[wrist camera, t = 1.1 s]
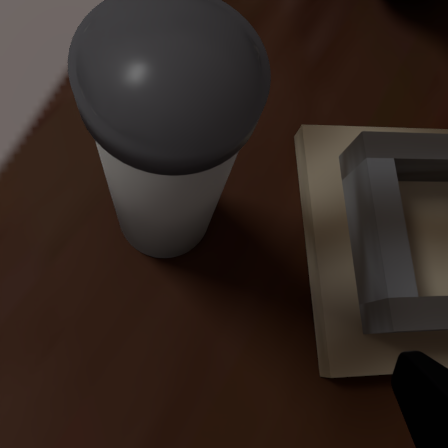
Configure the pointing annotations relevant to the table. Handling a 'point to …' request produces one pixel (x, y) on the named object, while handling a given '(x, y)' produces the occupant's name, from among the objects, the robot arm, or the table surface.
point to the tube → (167, 110)
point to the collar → (375, 244)
